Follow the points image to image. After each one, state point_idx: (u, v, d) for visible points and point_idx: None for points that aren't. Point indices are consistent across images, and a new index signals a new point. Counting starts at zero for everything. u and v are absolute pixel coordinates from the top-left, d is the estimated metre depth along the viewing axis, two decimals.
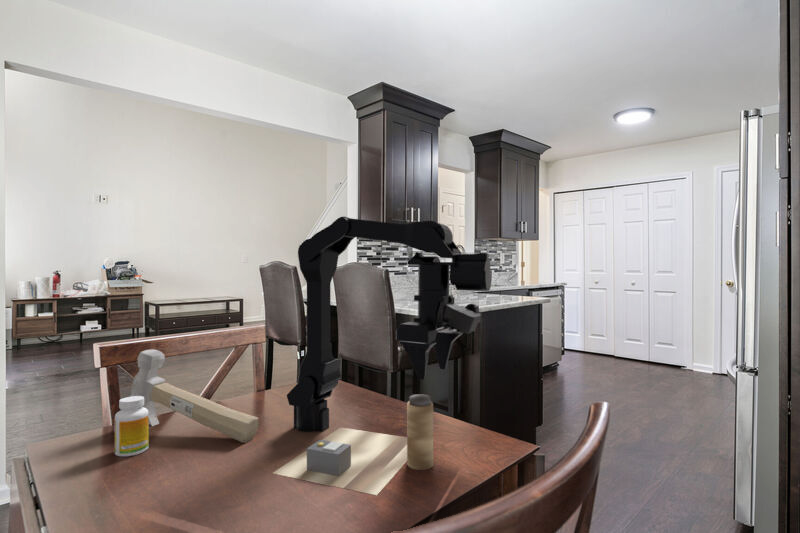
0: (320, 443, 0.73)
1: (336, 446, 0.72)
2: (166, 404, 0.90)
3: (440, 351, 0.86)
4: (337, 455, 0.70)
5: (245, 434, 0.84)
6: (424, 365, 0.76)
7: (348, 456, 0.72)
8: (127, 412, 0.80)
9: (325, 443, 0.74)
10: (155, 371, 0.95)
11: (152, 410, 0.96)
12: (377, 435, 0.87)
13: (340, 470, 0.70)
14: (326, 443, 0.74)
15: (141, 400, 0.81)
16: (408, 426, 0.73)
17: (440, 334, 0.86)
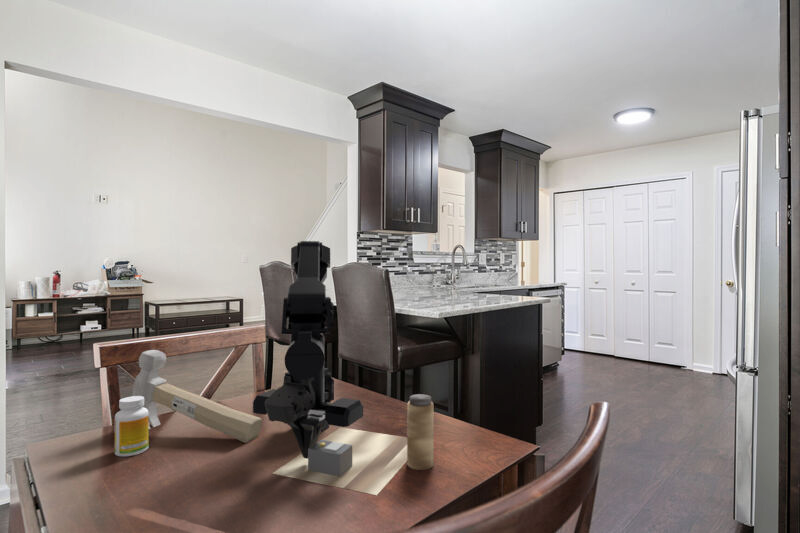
0: (321, 443, 0.73)
1: (337, 446, 0.72)
2: (168, 405, 0.90)
3: None
4: (338, 455, 0.69)
5: (249, 435, 0.84)
6: (299, 442, 0.74)
7: (349, 457, 0.72)
8: (127, 412, 0.80)
9: (326, 443, 0.74)
10: (156, 372, 0.94)
11: (153, 411, 0.95)
12: (377, 435, 0.87)
13: (341, 470, 0.70)
14: (327, 443, 0.74)
15: (141, 400, 0.81)
16: (408, 426, 0.73)
17: None
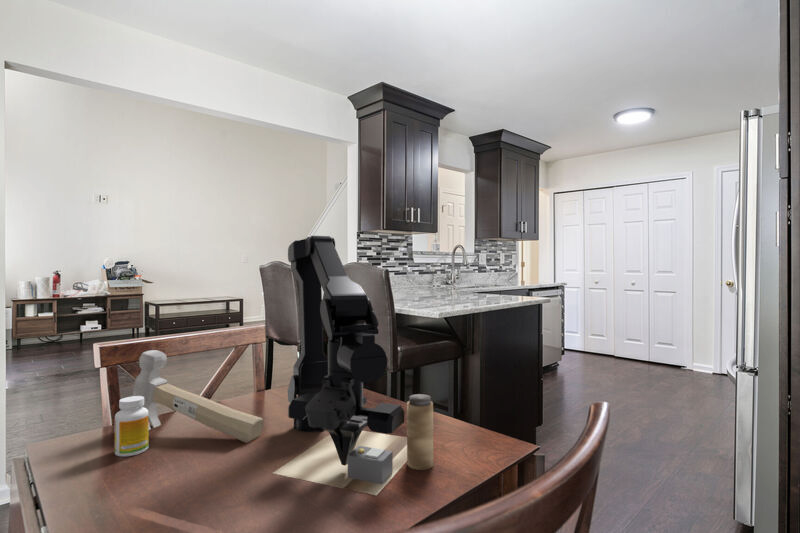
0: (361, 449, 0.70)
1: (378, 453, 0.69)
2: (169, 405, 0.90)
3: None
4: (380, 462, 0.67)
5: (250, 435, 0.84)
6: (337, 448, 0.71)
7: (390, 463, 0.70)
8: (127, 412, 0.80)
9: (365, 449, 0.71)
10: (157, 372, 0.94)
11: (154, 411, 0.95)
12: (377, 435, 0.87)
13: (383, 478, 0.67)
14: (366, 449, 0.71)
15: (141, 400, 0.81)
16: (408, 426, 0.73)
17: None
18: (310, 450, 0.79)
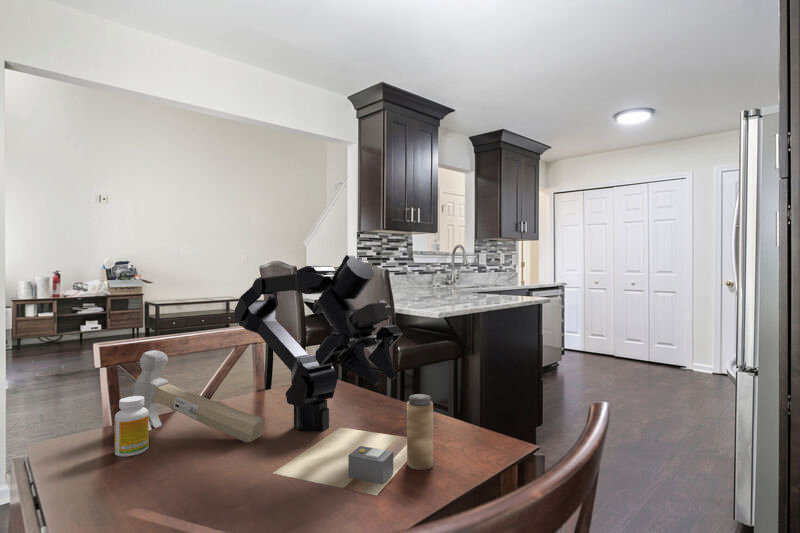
0: (361, 449, 0.70)
1: (379, 453, 0.69)
2: (170, 405, 0.89)
3: (382, 365, 0.82)
4: (381, 462, 0.67)
5: (252, 435, 0.84)
6: (368, 369, 0.77)
7: (391, 463, 0.70)
8: (127, 412, 0.80)
9: (366, 449, 0.71)
10: (158, 372, 0.94)
11: (155, 412, 0.95)
12: (377, 435, 0.87)
13: (384, 478, 0.67)
14: (367, 449, 0.71)
15: (141, 400, 0.81)
16: (408, 426, 0.73)
17: (374, 352, 0.84)
18: (310, 450, 0.79)
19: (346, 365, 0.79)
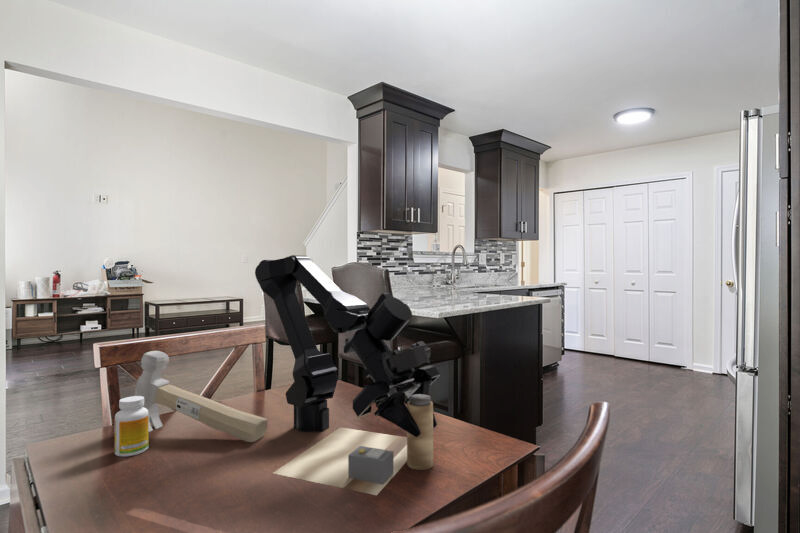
0: (361, 449, 0.70)
1: (379, 453, 0.69)
2: (171, 406, 0.89)
3: None
4: (381, 462, 0.67)
5: (255, 436, 0.83)
6: (409, 419, 0.71)
7: (391, 463, 0.70)
8: (127, 412, 0.80)
9: (366, 449, 0.71)
10: (159, 373, 0.93)
11: (155, 412, 0.94)
12: (377, 435, 0.87)
13: (384, 478, 0.67)
14: (367, 449, 0.71)
15: (141, 400, 0.81)
16: None
17: None
18: (310, 450, 0.79)
19: (384, 414, 0.73)
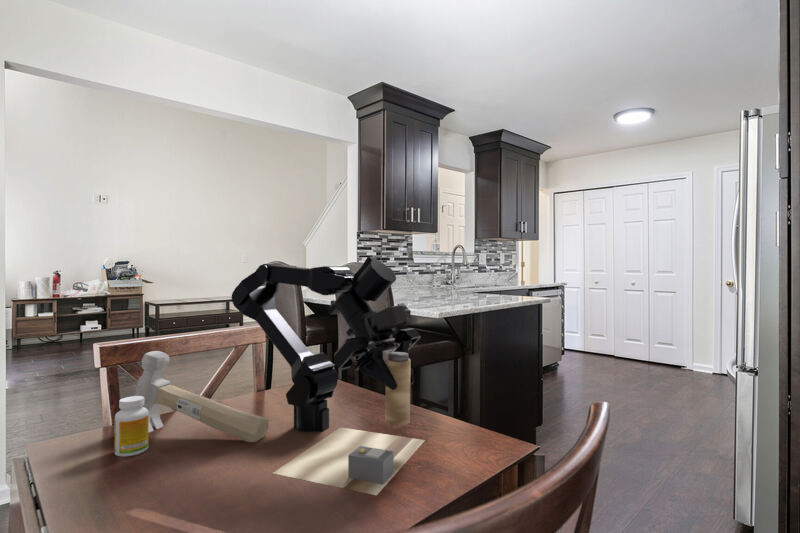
0: (361, 449, 0.70)
1: (379, 453, 0.69)
2: (172, 406, 0.89)
3: None
4: (381, 462, 0.67)
5: (256, 436, 0.83)
6: (386, 373, 0.76)
7: (391, 463, 0.70)
8: (127, 412, 0.80)
9: (366, 449, 0.71)
10: (160, 373, 0.93)
11: (156, 413, 0.94)
12: (377, 435, 0.87)
13: (384, 478, 0.67)
14: (367, 449, 0.71)
15: (141, 400, 0.81)
16: None
17: None
18: (310, 450, 0.79)
19: (364, 369, 0.78)
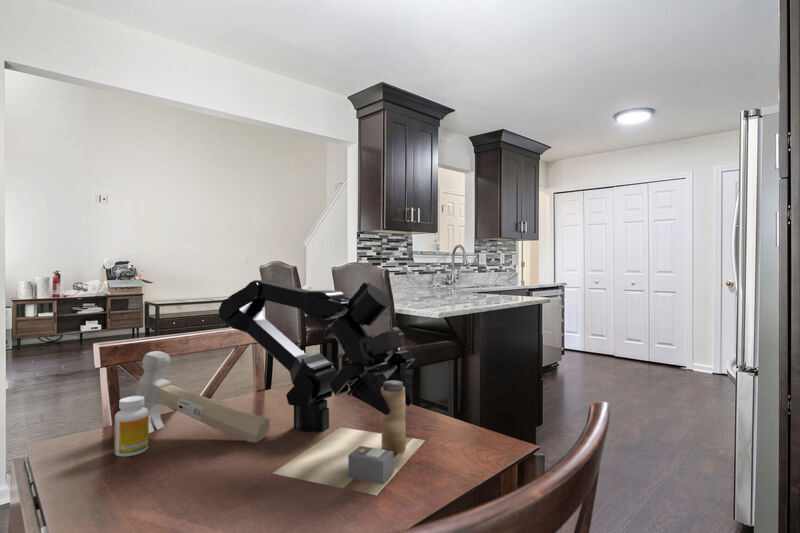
0: (361, 449, 0.70)
1: (379, 453, 0.69)
2: (173, 407, 0.89)
3: None
4: (381, 462, 0.67)
5: (257, 436, 0.83)
6: (379, 399, 0.77)
7: (391, 463, 0.70)
8: (127, 412, 0.80)
9: (366, 449, 0.71)
10: (160, 373, 0.93)
11: (157, 413, 0.94)
12: (377, 435, 0.87)
13: (384, 478, 0.67)
14: (367, 449, 0.71)
15: (141, 400, 0.81)
16: None
17: (390, 377, 0.85)
18: (310, 450, 0.79)
19: (357, 394, 0.79)
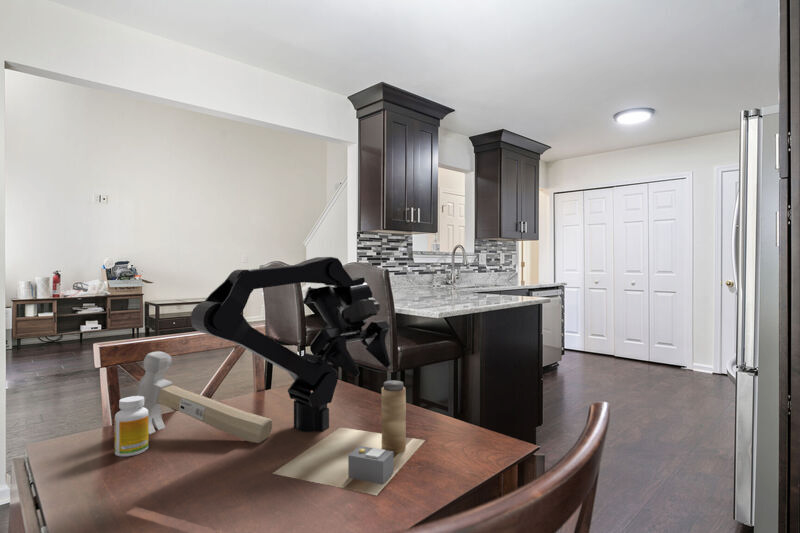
0: (361, 449, 0.70)
1: (379, 453, 0.69)
2: (175, 407, 0.88)
3: (378, 355, 0.92)
4: (381, 462, 0.67)
5: (260, 436, 0.83)
6: (349, 361, 0.83)
7: (391, 463, 0.70)
8: (127, 412, 0.80)
9: (366, 449, 0.71)
10: (162, 373, 0.92)
11: (158, 413, 0.93)
12: (377, 435, 0.87)
13: (384, 478, 0.67)
14: (367, 449, 0.71)
15: (141, 400, 0.81)
16: (382, 409, 0.79)
17: (371, 343, 0.94)
18: (310, 450, 0.79)
19: (330, 358, 0.85)
